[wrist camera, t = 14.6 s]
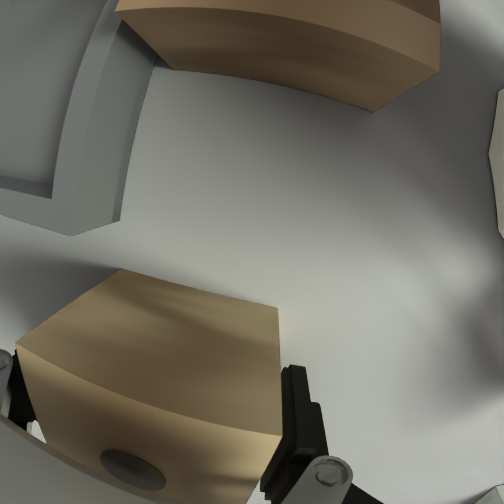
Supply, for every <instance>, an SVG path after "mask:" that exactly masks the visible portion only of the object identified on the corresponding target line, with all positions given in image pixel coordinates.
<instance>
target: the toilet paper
mask: <svg viewBox="0 0 504 504" xmlns="http://www.w3.org/2000/svg"><path fill="white" fill-rule="evenodd" d="M488 154H489V159H490V165H491V170H492V176H493V183H494V190H495V198H496V207H497V218H498V231H499V232H500V234H501V236H502V237H503V239H504V89H502V90H501V91H499V92H498V100H497V108H496V115H495V122H494V128H493V133H492V139H491V144H490V148H489V153H488Z"/></svg>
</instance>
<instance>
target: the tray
mask: <svg viewBox="0 0 504 504" xmlns="http://www.w3.org/2000/svg"><path fill="white" fill-rule="evenodd" d="M118 2H119V0H0V215H3V216H6V217H9V218H12V219H16V220H19V221H22V222H25V223H28V224H32V225H35V226H38V227H41V228H45V229H48V230H51V231H54V232H58V233H61V234H64V235H68V236H74V235H77V234H80V233H83V232H86V231H89V230H92V229H95V228H98V227H101V226H104V225H107V224H110V223H113V222H117V221H120V213H121V206H122V199H123V193H124V187H125V181H126V175H127V170H128V164H129V159H130V154H131V150H132V145H133V140H134V136H135V132H136V127H137V123H138V119H139V115H140V111H141V108H142V104H143V100H144V97H145V93H146V90H147V86H148V83H149V80H150V76H151V73H152V70H153V67H154V64H155V61H156V58H157V55H158V54H157V53H156V52H155V51H154V49H153V48H152V47H151V46H150V45H149V44H148V43H147V42H146V41H145V40H144V39H143V38H142V37H141V36H140V35H139V34H137V33H136V32H135V31H134V30H133V29H132V28H131V27H130V26H129V25H128V24H127V23H126V22H125V21H124V20H123V19H122V18H121V17H120V16H119V15H118V14H117V13H116V12H115V9H116V6H117V4H118Z"/></svg>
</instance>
